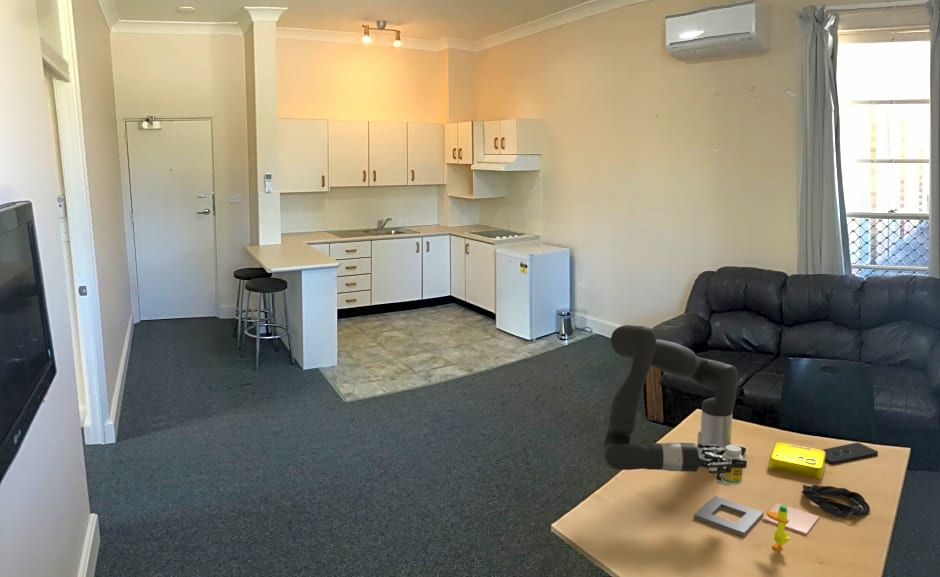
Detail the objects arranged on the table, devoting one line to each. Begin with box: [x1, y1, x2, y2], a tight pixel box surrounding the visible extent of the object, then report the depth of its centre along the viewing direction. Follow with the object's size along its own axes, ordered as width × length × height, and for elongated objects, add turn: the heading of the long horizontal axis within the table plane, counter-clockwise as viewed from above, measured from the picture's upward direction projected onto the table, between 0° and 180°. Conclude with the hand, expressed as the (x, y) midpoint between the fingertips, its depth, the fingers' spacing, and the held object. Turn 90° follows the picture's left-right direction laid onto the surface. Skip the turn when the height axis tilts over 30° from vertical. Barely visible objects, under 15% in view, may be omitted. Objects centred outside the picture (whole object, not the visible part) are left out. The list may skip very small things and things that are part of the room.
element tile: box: [768, 441, 826, 481], centre depth 212 cm, size 15×15×5 cm
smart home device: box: [822, 442, 879, 466], centre depth 219 cm, size 8×2×20 cm
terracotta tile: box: [762, 502, 820, 536], centre depth 181 cm, size 11×11×1 cm
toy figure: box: [765, 503, 792, 552], centre depth 167 cm, size 7×4×12 cm, turn 37°
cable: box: [801, 484, 871, 518], centre depth 189 cm, size 17×14×4 cm
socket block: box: [693, 495, 764, 538], centre depth 183 cm, size 14×14×1 cm
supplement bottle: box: [720, 444, 744, 486], centre depth 180 cm, size 5×5×10 cm
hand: (742, 458), depth 179 cm, fingers closed on supplement bottle, 5 cm apart
